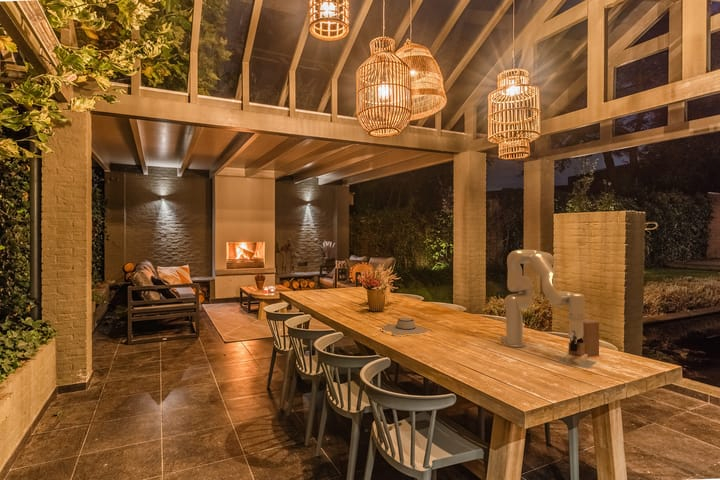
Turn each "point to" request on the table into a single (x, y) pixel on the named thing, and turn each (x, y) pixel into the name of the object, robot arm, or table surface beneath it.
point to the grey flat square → (586, 365)
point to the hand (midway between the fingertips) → (576, 349)
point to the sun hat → (404, 327)
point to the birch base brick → (577, 359)
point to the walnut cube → (578, 350)
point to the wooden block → (591, 337)
